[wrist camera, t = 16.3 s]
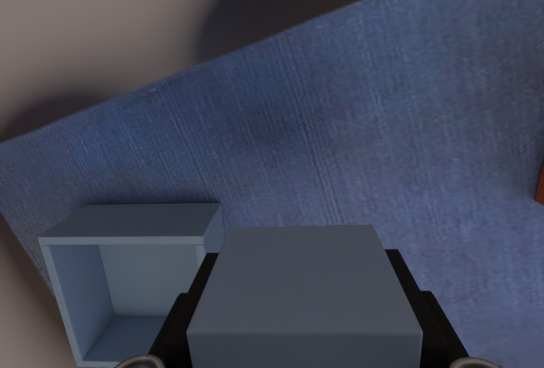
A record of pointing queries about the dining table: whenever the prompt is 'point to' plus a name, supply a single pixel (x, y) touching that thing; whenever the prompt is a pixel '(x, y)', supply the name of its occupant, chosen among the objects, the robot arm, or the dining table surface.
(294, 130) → the dining table surface
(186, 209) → the slate bin
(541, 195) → the terracotta bin
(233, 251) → the slate block
